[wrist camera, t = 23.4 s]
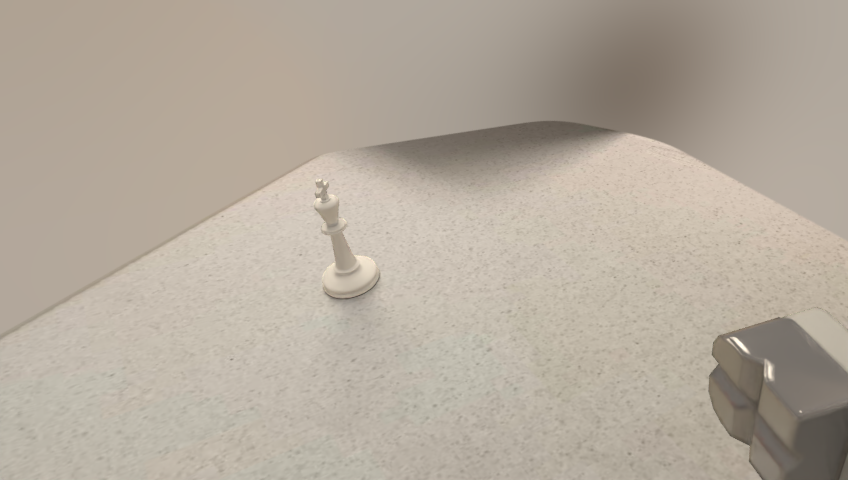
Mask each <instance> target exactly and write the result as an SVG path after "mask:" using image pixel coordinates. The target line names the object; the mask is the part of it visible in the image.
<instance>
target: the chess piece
mask: <svg viewBox="0 0 848 480" xmlns="http://www.w3.org/2000/svg"><path fill="white" fill-rule="evenodd" d="M316 185H317V188H318V189H317V191H316V192H315V196H316V198H318V199H317V200H316V201H315V202H314V208H315V210H316V211H317V212H318V213H319V214H320V215H321V217H322V218H323V219H324V221H325V222H324V223H323V224H322V226H321V231H322V233H323V234H325V235H331V240H332V244H333V250H334V255H335V262H334V263H332V264H331V265H330V266H329V267H328V268H327V269H326V270H325V272H324V274H323V277H322V283H323V288H324V290H325V292H326V293H327V294H328V295H330V296H332V297H335V298H351V297H355V296H358V295H361V294H363V293H365V292H366V291H368V290H369V289H371V288H372V287H373V286H374V285H375V284H376V282H377V280H378V278H379V269H378V267H377V266H376V263H375V262H374V261H373V260H372V259H370V258H368V257H366V256H360V255H353V253H352V251H351V249H350V247H349V245H348V243H347V241H346V239H345V237H344V235H343V233H342V231H344V230H345V229H346V227H347V222H346V221H345V220H344V219H343V218H339V217H338V207H339V199H338V197H337V196H335V195H328V194H327V191H326V190H327V189H328V187H329V184H328V181H323V179H317V180H316Z"/></svg>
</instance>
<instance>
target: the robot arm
mask: <svg viewBox="0 0 848 480" xmlns="http://www.w3.org/2000/svg"><path fill="white" fill-rule="evenodd" d="M712 356H713V357H714V358H715V359H716V361H717V362H718V363H719V364H718V365H717V367H716V368H715V369H714V370H713V371H712V373H711V374H710V375H709V395H710V398H711V402H712V405H713V409H714V411H715V413H716V414H717V416H718V418H719V420H720V422H721V424H722V425H723V426H724V428H725V429H726V431H727V432H728V433H729V435H730V436H731V437H733V438H735V439H737V440H739V441H741V442H743V443H745V444H747V445H749V446H750V450H749V462H750V464H751V465H752V466H753V468H754V469H755V470H756V472H757V473H758V474H759V476H760V477H761V478H762V480H848V329H846V328H845V327H844V326H843V325H842V324H841V323H840V322H839V321H838V320H836V319H835V318H834V317H833V316H832V315H831V314H830V313H829V312H827V311H826V310H823V309H821V308H818V307H815V308H811V309H808V310H804V311H801V312H798V313H794V314H791V315H788V316H784V317H782V318H780V317H778V318H775V319H771V320H768V321H765V322H762V323H758V324H755V325H752V326H749V327H745V328H742V329H739V330H736V331H732V332H729V333H726V334H723V335H719V336H718V337H717V338H716V339H715V341H714V342H713V348H712Z"/></svg>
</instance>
